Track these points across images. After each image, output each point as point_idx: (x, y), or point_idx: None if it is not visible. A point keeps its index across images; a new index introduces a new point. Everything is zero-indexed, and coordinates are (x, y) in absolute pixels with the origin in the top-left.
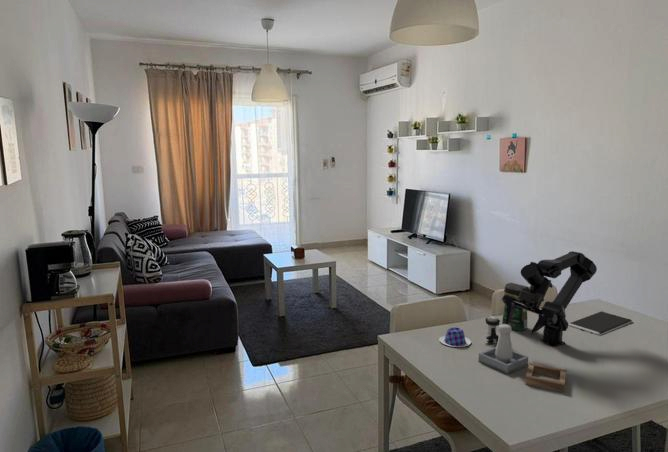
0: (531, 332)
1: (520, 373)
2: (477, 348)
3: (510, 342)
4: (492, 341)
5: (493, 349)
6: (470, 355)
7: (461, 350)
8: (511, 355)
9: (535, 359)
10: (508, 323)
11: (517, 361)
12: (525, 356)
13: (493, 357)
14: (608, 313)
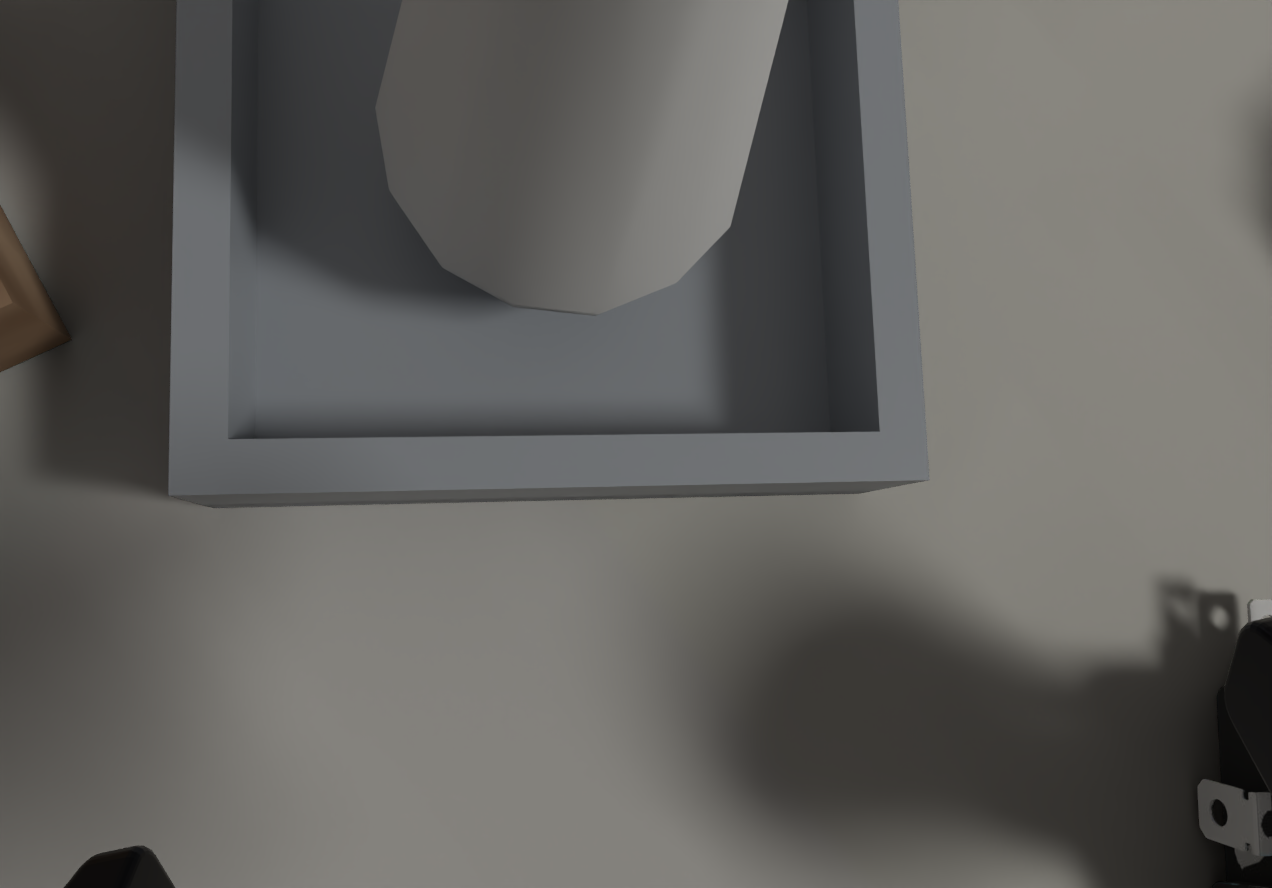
0: (107, 882)
1: (92, 84)
2: (1190, 345)
3: (446, 10)
4: (1247, 781)
5: (864, 208)
6: (1054, 17)
7: (1258, 61)
8: (387, 139)
9: (277, 877)
10: (1262, 772)
11: (178, 81)
12: (224, 454)
13: (752, 167)
14: None
